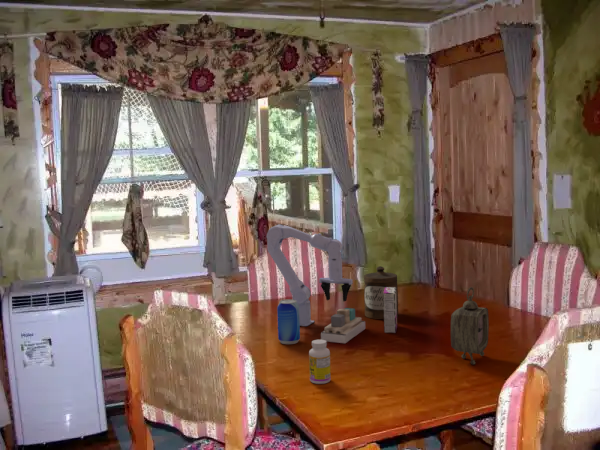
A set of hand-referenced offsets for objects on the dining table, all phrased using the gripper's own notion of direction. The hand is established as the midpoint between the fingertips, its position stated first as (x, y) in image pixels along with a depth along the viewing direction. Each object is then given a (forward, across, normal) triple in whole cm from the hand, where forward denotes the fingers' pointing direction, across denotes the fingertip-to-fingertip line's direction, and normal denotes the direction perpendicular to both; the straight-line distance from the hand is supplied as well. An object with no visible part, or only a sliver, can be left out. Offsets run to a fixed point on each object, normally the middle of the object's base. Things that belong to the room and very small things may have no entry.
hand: (336, 300), depth 264 cm
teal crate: (+6, +8, -8) cm, 13 cm away
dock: (+10, +8, -13) cm, 19 cm away
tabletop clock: (+11, +60, -26) cm, 67 cm away
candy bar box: (+11, +23, 0) cm, 26 cm away
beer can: (+10, -7, -30) cm, 32 cm away
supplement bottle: (+11, +22, -65) cm, 69 cm away
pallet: (+7, +8, -13) cm, 18 cm away
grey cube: (+5, +8, -19) cm, 21 cm away
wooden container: (+11, +12, +21) cm, 27 cm away
